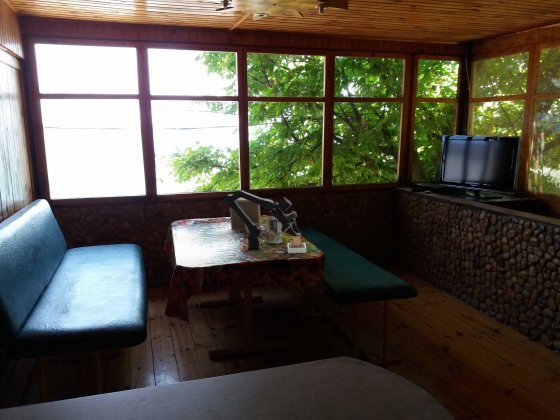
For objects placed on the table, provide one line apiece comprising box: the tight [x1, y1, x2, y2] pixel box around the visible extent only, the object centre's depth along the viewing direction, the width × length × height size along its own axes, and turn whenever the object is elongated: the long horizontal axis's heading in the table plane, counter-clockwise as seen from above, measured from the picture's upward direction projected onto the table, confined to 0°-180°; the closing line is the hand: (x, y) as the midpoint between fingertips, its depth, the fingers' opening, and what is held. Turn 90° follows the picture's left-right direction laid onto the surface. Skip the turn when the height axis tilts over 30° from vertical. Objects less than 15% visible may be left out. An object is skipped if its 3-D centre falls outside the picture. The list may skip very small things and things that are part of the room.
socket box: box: [287, 242, 307, 254], centre depth 260 cm, size 11×12×4 cm
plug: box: [292, 232, 301, 246], centre depth 259 cm, size 5×5×10 cm
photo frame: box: [229, 198, 262, 234], centre depth 310 cm, size 15×22×25 cm
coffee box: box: [265, 216, 283, 245], centre depth 278 cm, size 9×6×16 cm
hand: (297, 234), depth 258 cm, fingers open, 9 cm apart
